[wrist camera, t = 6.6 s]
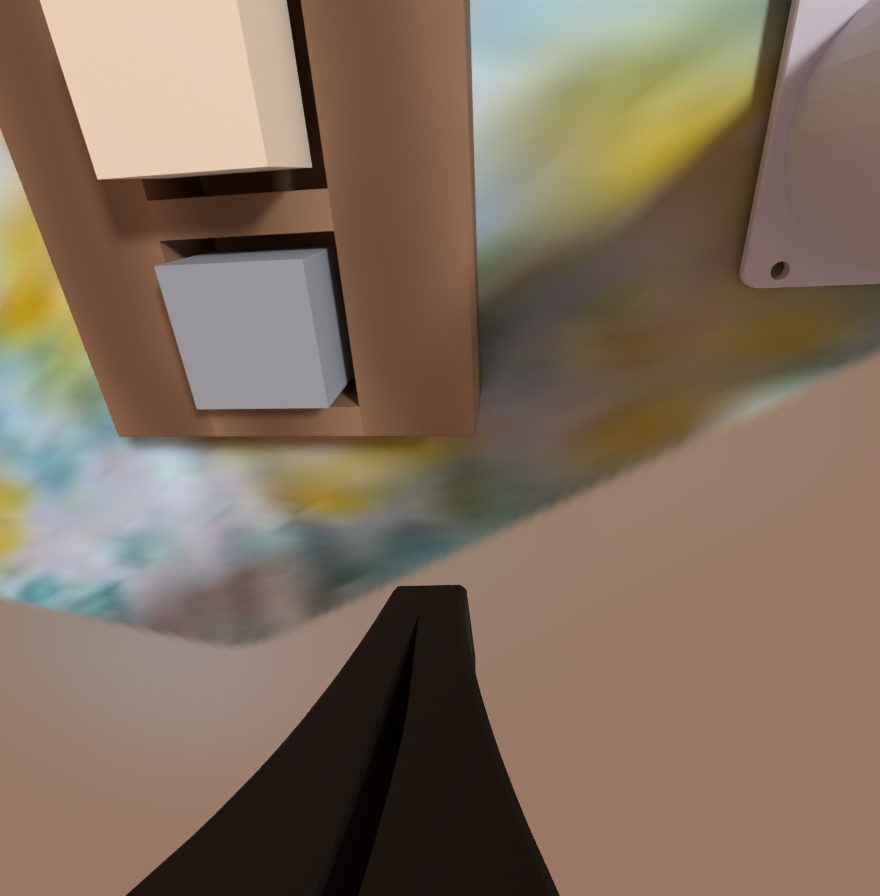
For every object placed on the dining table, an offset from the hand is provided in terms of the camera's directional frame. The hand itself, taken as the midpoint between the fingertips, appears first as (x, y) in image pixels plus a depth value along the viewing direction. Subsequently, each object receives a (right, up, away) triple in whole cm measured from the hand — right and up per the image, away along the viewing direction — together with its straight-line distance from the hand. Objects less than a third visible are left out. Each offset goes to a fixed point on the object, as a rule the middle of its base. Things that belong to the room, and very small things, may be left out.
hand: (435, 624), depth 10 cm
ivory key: (-5, +12, +3) cm, 14 cm away
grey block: (-5, +8, +6) cm, 11 cm away
